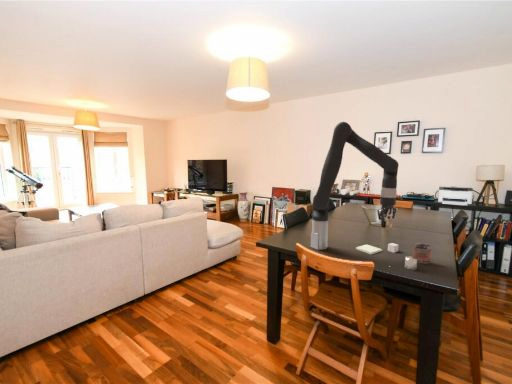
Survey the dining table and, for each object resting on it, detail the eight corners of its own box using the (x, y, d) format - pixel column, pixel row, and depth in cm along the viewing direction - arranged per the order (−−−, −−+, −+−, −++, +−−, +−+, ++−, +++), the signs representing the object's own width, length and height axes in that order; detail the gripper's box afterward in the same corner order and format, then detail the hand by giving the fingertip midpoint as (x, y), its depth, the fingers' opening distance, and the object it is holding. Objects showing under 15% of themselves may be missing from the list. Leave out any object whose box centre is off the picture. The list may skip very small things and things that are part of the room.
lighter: (412, 262, 131) (414, 243, 130) (411, 259, 134) (412, 241, 133) (431, 264, 128) (432, 245, 127) (429, 261, 132) (430, 243, 130)
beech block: (387, 229, 135) (387, 220, 134) (380, 227, 139) (380, 218, 138) (391, 228, 137) (392, 219, 136) (384, 226, 141) (385, 218, 140)
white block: (394, 252, 145) (394, 246, 144) (387, 250, 148) (387, 244, 148) (398, 251, 147) (398, 244, 146) (391, 249, 150) (391, 242, 150)
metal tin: (413, 270, 121) (413, 260, 120) (402, 267, 125) (403, 257, 125) (418, 268, 124) (419, 258, 123) (408, 264, 128) (408, 255, 127)
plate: (371, 254, 142) (371, 252, 142) (356, 249, 150) (356, 247, 150) (381, 251, 147) (381, 249, 147) (366, 246, 155) (366, 244, 155)
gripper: (389, 194, 142) (387, 223, 144) (373, 195, 135) (371, 227, 137) (402, 196, 136) (400, 227, 138) (386, 197, 129) (384, 230, 131)
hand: (385, 226), depth 138 cm, fingers closed on beech block, 4 cm apart
